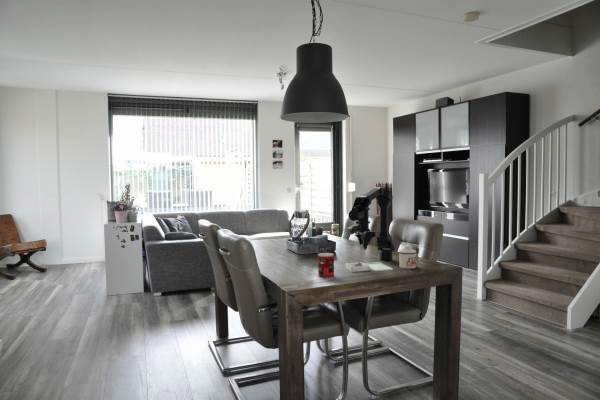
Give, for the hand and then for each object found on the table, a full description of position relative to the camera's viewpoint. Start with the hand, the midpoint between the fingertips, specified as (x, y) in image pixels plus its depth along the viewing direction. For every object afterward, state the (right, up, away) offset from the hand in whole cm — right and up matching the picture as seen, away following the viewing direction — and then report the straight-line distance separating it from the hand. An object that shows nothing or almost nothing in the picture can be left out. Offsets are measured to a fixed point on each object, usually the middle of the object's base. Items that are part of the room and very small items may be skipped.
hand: (363, 248), depth 228 cm
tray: (+8, -11, +4) cm, 14 cm away
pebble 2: (0, -1, 0) cm, 1 cm away
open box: (-3, -11, 0) cm, 12 cm away
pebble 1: (-3, -11, -2) cm, 11 cm away
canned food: (-20, -13, -11) cm, 26 cm away
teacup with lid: (+25, -11, +4) cm, 28 cm away
